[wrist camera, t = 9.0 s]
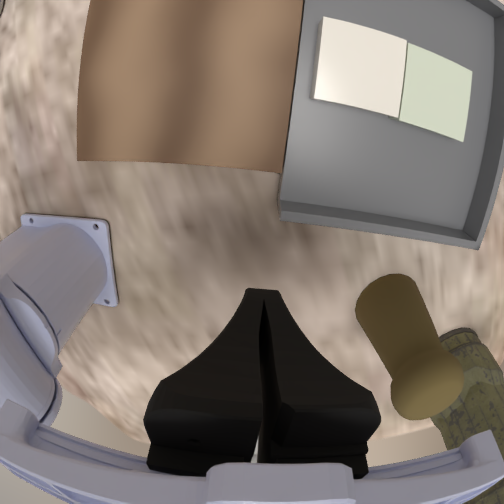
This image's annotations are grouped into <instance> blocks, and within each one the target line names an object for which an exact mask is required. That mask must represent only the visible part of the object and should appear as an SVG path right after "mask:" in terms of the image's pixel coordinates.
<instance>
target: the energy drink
mask: <svg viewBox="0 0 504 504" xmlns="http://www.w3.org/2000/svg"><path fill="white" fill-rule="evenodd" d="M3 4H4V0H0V15H1V12H2V9H3Z"/></svg>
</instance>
